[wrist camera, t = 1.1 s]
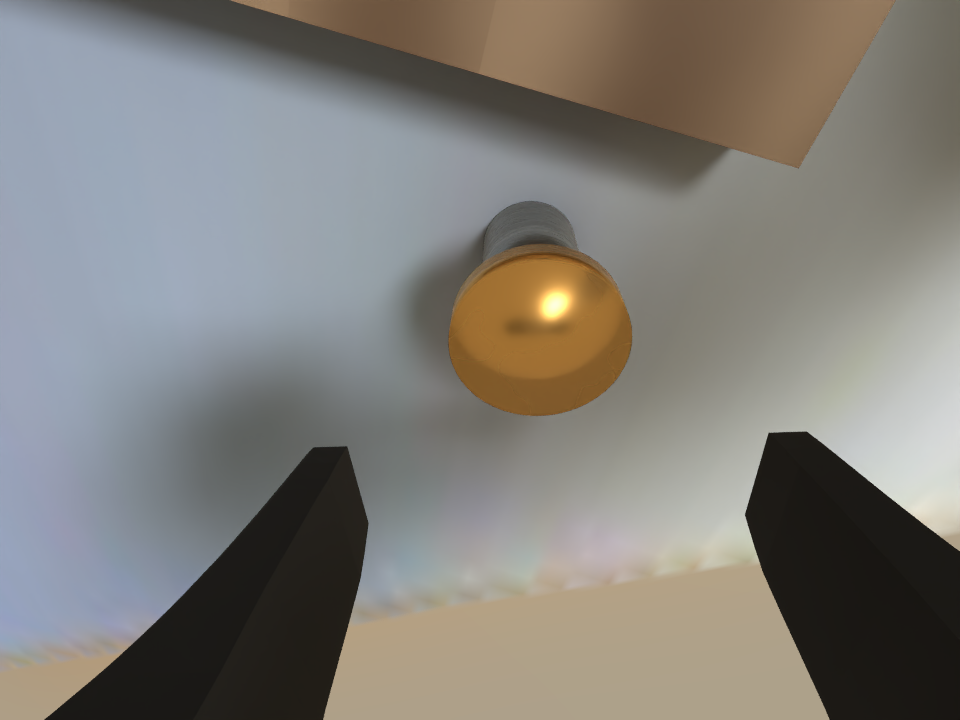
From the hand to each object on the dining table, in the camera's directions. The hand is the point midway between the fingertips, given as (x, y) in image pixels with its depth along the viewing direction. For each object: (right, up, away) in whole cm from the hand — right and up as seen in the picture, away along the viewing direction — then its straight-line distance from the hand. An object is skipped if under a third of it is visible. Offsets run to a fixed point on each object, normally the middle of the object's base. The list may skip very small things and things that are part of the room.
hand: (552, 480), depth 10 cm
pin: (0, +6, +9) cm, 10 cm away
